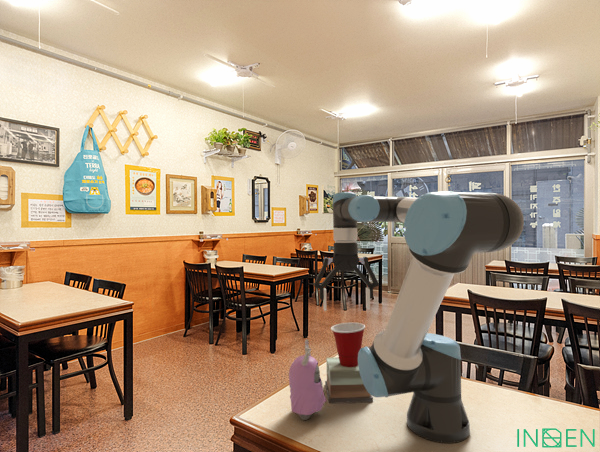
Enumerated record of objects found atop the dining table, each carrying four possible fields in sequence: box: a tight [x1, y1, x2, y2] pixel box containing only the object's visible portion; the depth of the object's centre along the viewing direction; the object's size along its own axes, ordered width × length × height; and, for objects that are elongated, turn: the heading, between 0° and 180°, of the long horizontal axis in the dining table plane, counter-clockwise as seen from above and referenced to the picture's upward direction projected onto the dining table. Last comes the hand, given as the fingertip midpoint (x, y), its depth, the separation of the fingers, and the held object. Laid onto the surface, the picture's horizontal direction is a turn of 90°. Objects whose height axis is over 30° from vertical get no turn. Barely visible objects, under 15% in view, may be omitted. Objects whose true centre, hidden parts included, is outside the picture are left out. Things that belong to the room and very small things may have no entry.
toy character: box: [288, 339, 327, 421], centre depth 102 cm, size 12×10×20 cm
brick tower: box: [324, 356, 374, 404], centre depth 115 cm, size 13×13×9 cm
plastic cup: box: [330, 322, 366, 367], centre depth 115 cm, size 11×11×12 cm
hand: (346, 309), depth 116 cm, fingers open, 13 cm apart
